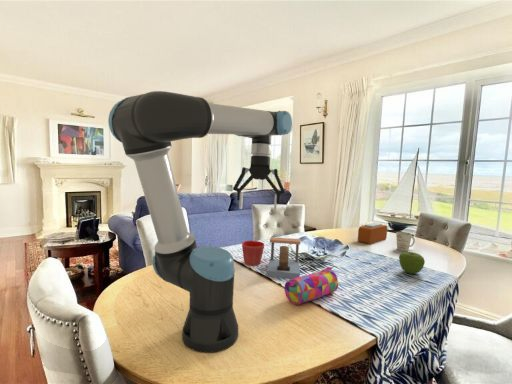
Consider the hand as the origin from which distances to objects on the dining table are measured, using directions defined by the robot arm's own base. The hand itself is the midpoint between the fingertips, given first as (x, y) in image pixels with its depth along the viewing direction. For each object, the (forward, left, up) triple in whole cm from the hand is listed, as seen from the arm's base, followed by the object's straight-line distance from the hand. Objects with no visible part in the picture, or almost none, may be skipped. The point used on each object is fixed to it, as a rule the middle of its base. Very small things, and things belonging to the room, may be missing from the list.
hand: (257, 210), depth 110 cm
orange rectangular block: (+86, -68, -30) cm, 114 cm away
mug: (+69, -83, -30) cm, 112 cm away
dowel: (+12, -11, -30) cm, 34 cm away
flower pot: (+23, +4, -30) cm, 38 cm away
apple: (+27, -69, -30) cm, 80 cm away
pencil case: (-7, -22, -30) cm, 38 cm away
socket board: (+16, -11, -30) cm, 35 cm away
